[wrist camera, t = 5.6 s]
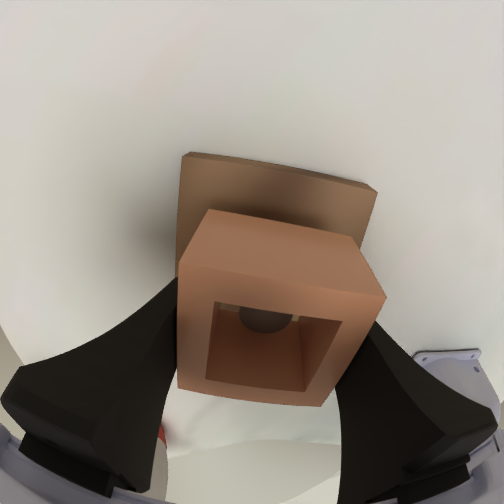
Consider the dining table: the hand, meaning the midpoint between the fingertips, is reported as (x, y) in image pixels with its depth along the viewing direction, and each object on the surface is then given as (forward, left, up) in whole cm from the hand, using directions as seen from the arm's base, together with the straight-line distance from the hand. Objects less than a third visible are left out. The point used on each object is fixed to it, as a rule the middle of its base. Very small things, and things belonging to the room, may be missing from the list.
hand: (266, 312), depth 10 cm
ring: (0, 0, -2) cm, 2 cm away
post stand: (0, 0, -5) cm, 5 cm away
